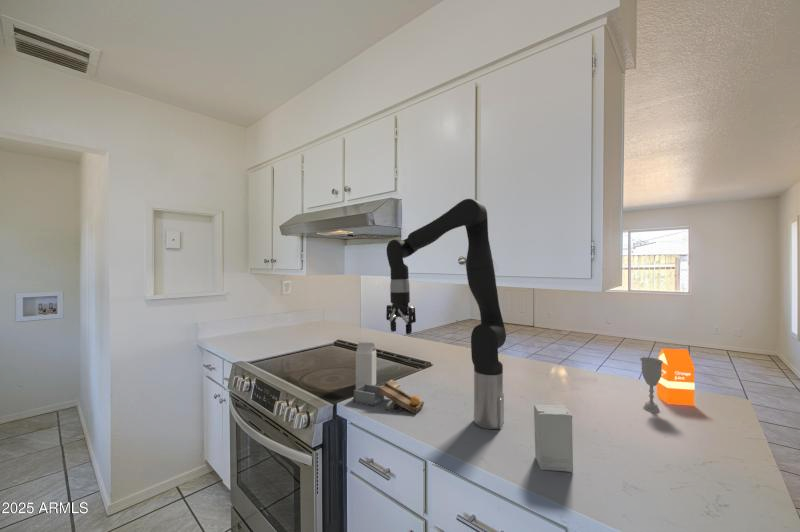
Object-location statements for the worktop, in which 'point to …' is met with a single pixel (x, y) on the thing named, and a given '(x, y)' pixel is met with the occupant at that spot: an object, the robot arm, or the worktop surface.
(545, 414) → the skincare box
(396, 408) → the fulcrum
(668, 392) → the orange juice
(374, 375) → the milk carton
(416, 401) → the ball
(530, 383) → the worktop surface
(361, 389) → the tray
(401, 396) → the lever
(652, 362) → the chalice
